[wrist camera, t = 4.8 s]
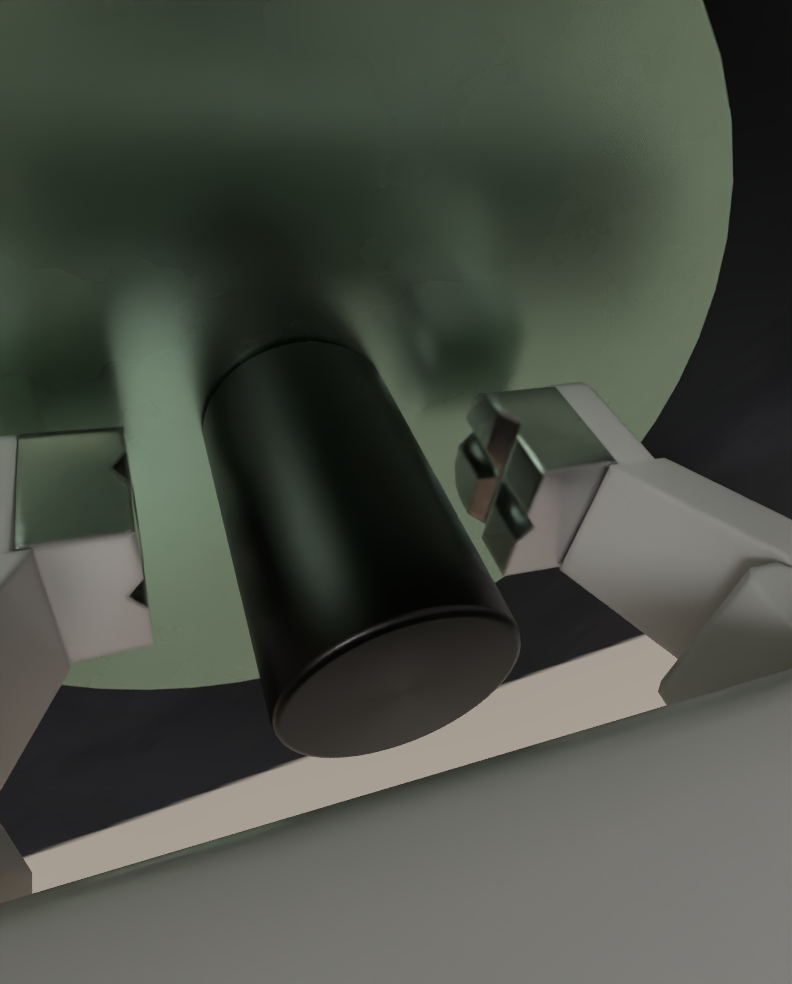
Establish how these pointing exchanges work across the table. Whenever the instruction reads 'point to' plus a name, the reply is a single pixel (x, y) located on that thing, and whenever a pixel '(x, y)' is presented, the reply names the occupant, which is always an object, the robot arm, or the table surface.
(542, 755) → the robot arm
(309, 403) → the kettle lid
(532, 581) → the table surface
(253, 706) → the table surface
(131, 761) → the table surface
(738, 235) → the table surface
